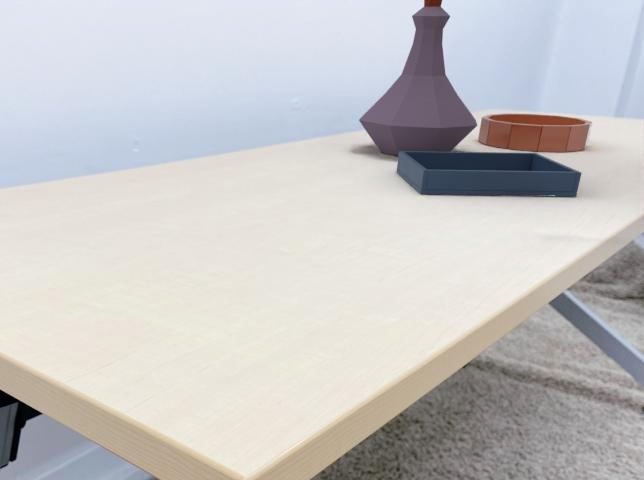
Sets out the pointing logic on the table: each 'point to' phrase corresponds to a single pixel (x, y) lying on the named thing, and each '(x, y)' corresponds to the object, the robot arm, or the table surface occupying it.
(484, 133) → the bowl
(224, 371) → the table surface
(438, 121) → the flask
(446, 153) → the tray
